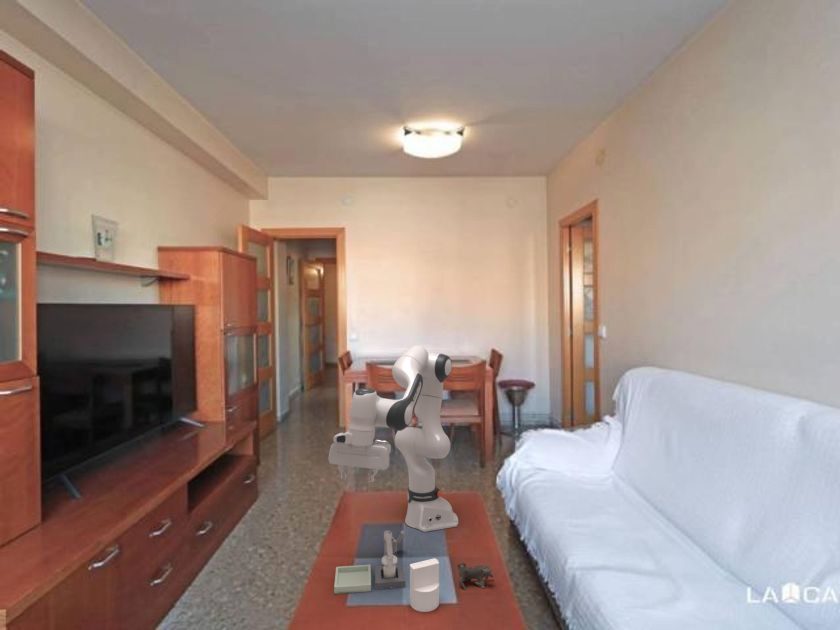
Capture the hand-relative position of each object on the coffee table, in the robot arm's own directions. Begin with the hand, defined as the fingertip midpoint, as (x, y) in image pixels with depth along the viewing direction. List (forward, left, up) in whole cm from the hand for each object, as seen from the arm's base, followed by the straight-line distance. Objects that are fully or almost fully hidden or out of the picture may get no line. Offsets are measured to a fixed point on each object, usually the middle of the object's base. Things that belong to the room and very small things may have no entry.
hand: (357, 480), depth 152 cm
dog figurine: (-39, +7, -34) cm, 52 cm away
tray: (+1, +1, -33) cm, 33 cm away
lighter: (-14, -16, -34) cm, 40 cm away
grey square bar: (-11, -2, -25) cm, 28 cm away
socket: (-11, -3, -33) cm, 35 cm away
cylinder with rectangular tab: (-21, +14, -34) cm, 42 cm away
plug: (-11, +1, -33) cm, 35 cm away
